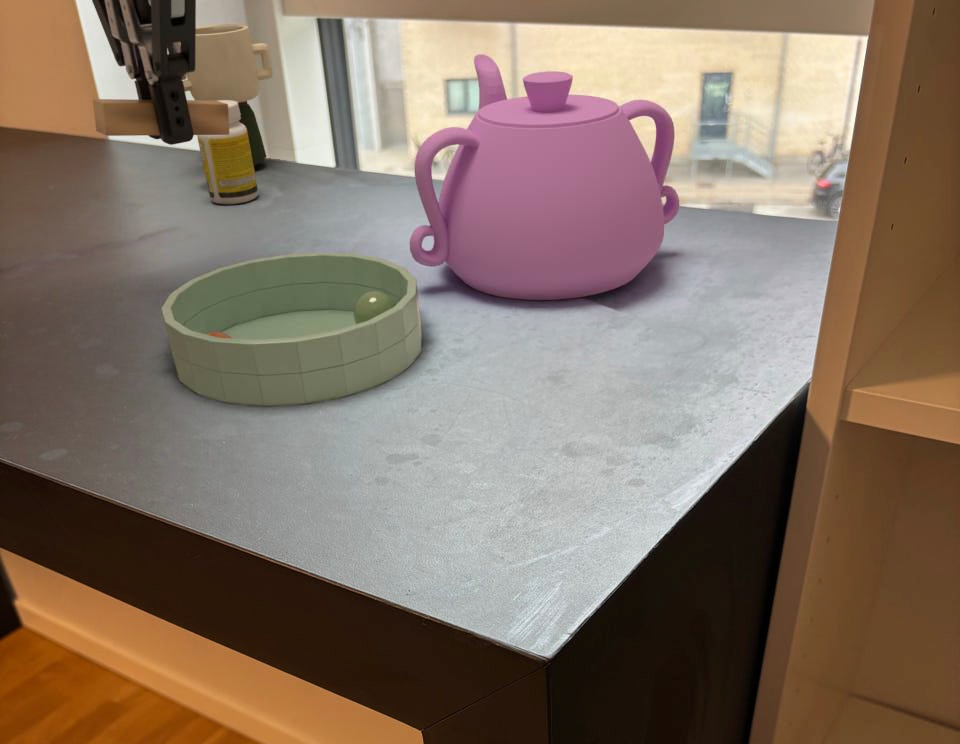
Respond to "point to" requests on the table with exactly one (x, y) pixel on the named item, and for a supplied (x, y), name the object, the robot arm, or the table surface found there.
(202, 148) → the supplement bottle
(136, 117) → the wooden block
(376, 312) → the sage bead
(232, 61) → the character mug
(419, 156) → the teapot
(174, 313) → the bowl
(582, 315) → the table surface
